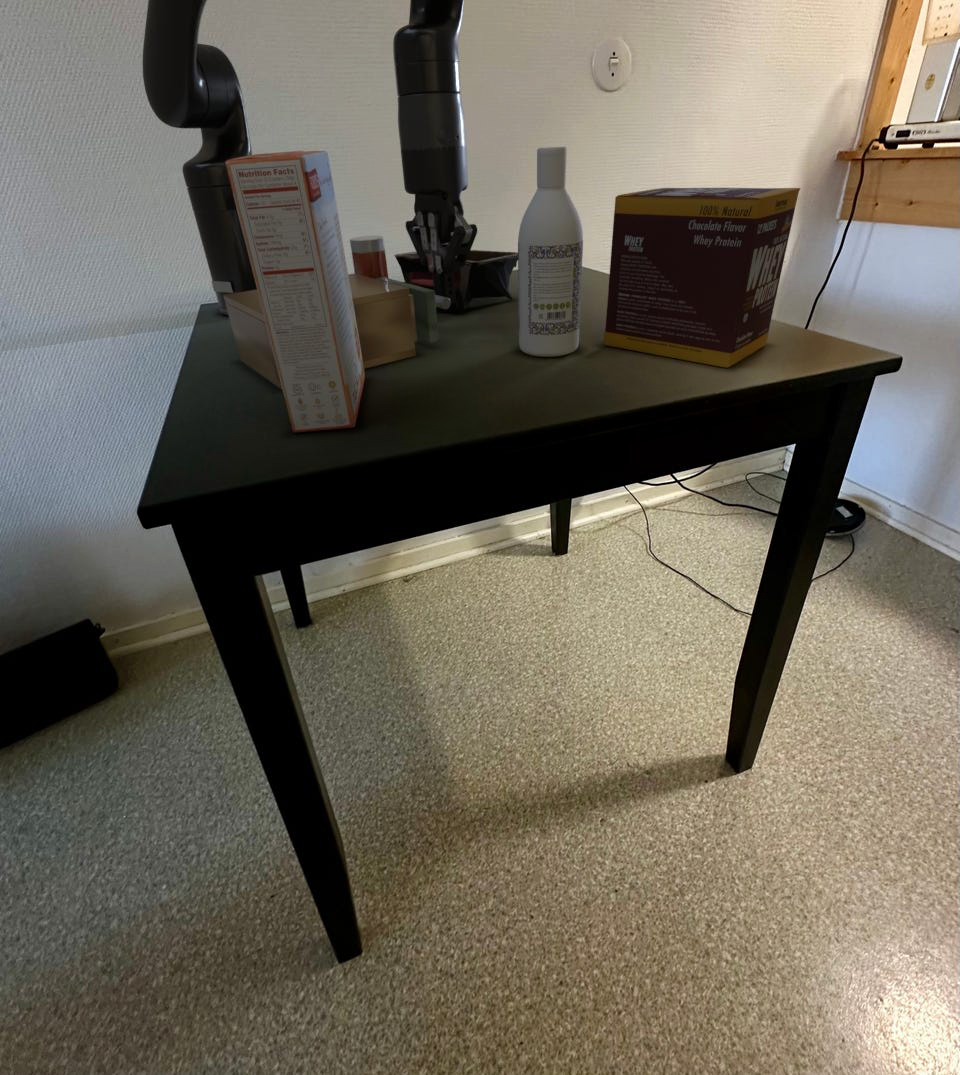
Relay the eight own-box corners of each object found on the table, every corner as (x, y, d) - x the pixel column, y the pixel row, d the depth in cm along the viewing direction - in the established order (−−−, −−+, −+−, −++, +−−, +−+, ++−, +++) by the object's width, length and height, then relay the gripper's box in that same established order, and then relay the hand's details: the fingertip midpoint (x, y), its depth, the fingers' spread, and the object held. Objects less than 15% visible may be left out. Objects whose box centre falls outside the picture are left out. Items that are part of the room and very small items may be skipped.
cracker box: (311, 382, 65) (263, 152, 53) (367, 378, 65) (331, 148, 53) (287, 435, 53) (219, 155, 42) (356, 430, 53) (307, 150, 42)
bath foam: (590, 351, 69) (601, 144, 58) (538, 362, 67) (539, 148, 56) (558, 338, 75) (562, 146, 64) (508, 347, 72) (504, 149, 61)
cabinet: (363, 334, 81) (354, 273, 76) (416, 355, 71) (409, 287, 67) (240, 361, 73) (223, 294, 69) (281, 389, 63) (263, 314, 59)
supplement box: (730, 369, 62) (762, 196, 53) (602, 345, 71) (612, 194, 62) (769, 345, 68) (803, 186, 60) (647, 326, 77) (662, 186, 69)
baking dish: (458, 301, 103) (444, 238, 98) (539, 295, 91) (528, 223, 86) (396, 326, 95) (377, 259, 90) (476, 324, 83) (460, 246, 78)
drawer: (415, 317, 83) (411, 272, 80) (467, 334, 75) (464, 284, 72) (278, 346, 74) (267, 297, 71) (319, 369, 66) (308, 314, 62)
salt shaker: (357, 324, 85) (343, 238, 79) (384, 319, 87) (373, 234, 81) (371, 330, 82) (358, 241, 76) (399, 324, 84) (389, 237, 78)
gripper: (494, 140, 66) (499, 306, 75) (429, 144, 75) (441, 291, 85) (437, 144, 62) (450, 317, 72) (376, 147, 71) (395, 300, 81)
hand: (445, 303), depth 78 cm, fingers closed
